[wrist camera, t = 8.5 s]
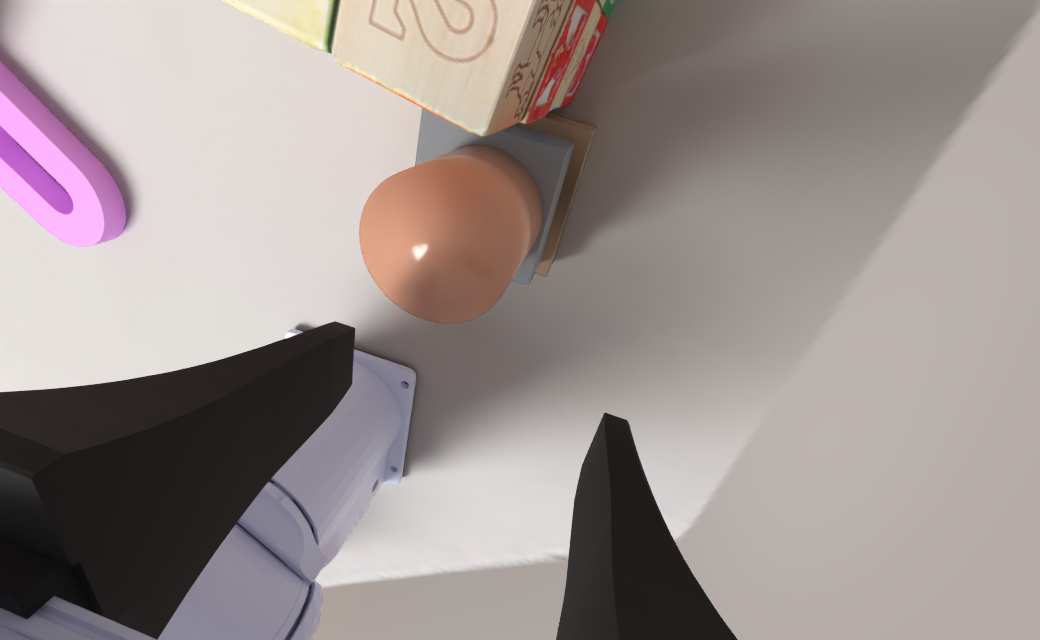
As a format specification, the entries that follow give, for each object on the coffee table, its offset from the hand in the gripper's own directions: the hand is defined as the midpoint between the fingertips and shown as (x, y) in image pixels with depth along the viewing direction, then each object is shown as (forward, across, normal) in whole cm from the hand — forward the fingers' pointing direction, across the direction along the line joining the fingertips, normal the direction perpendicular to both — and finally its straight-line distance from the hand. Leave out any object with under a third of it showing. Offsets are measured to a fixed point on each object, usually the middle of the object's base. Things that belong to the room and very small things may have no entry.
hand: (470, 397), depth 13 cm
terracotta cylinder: (+6, +2, -3) cm, 7 cm away
